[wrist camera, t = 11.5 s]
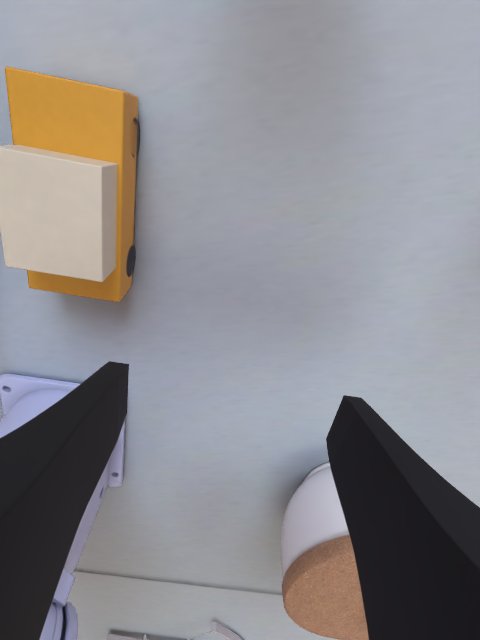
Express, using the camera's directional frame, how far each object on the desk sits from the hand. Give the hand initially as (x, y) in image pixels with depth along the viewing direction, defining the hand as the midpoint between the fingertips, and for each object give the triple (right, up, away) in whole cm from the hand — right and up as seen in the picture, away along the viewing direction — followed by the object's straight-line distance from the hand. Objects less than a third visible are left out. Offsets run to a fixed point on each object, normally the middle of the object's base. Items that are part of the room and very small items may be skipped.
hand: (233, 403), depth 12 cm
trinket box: (+8, -10, +16) cm, 21 cm away
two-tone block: (-7, +9, +6) cm, 13 cm away
